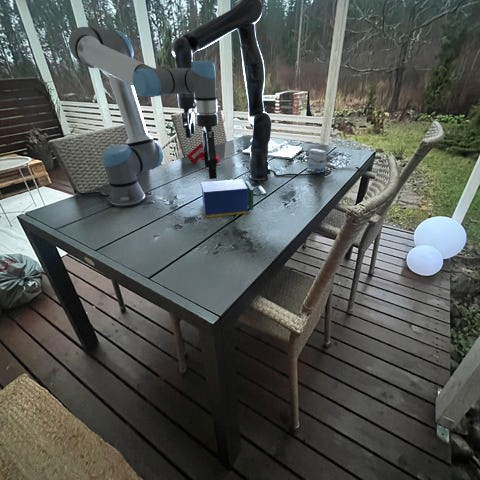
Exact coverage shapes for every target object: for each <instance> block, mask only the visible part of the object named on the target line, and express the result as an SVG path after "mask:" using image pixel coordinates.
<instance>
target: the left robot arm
mask: <svg viewBox="0 0 480 480" xmlns="http://www.w3.org/2000/svg"><path fill="white" fill-rule="evenodd" d="M68 48H69V51H70V53H71V55H72V56H73V57H74V59H75V60H76V61H77V62H79V64H81V65H83V66H85V67H87V68H90V69H97V70H100V71H101V72H102V74H104V75H106V77H107V78H108V81H109V85H110V87H111V89H112V92H113V96H114V98H115V101H116V105H117V108H118V110H119V113H120V116H121V119H122V123H123V125H124V128H125V132H126V134H127V137H128V139H127V140H126V144H119V145H113V146H110V147H108V148H106V149H104V150H103V152H102V153H101V158H102V159H101V160H102V164H103V166H104V169H105V173H106V177H107V180H108V184H109V193H108V194H105V193H104V192H103V191H100V190H94V191H89V192H81V191H80V190H78V189H76V188H75V189H74V190H73V193H77V194H79V195H82V196H87V195H88V196H89V195H93V194H101V196H102V197H106V198H107V197H109V204H110V205H111V206H113V207H115V208H130V207H135V206H137V205H140V204H141V203H143V202H144V201H145V200H146V194H145V192H144V190H143V189H142V187H141V185H140V184H139V181H138V177H137V175H139V174H142V173H144V172H148V171H151V170H154V169H156V168H158V167H160V166H161V165H162V163H163V161H164V151H163V148H162V147H161V145H160V144H159V142H158V141H154V138H153V136H151V135H150V134H149V133H148V129H147V126H146V122H145V119H144V117H143V113H142V108H141V106H140V103H139V100H138V97H137V96H138V95H139V96H140V97H145V98H147V97H148V98H154V97H163V96H170V95H171V96H172V95H177V94H181V93H192V94H194V97H195V102H196V103H194V104H193V106H196V107H195V108H194V109H195V113H196V115H195V123H196V126H197V127H200V128H201V129H202V130H201V135H202V142H203V148H204V160H203V161H204V168H205V169H207V168H208V179H209V180H215V179H216V180H217V178H218V176H217V164H216V161H217V159H216V154H217V151H216V144H215V132H214V130H213V128H214V127H216V126H218V124H219V119H218V118H219V117H218V114H217V113H218V99H217V75H216V66H215V63H214V62H213V61H212V60H192V68H176V67H170V68H169V67H168V68H164V67H161V68H157V67H153V66H150V65H148V64H145V63H143V62H141V61H140V60H137V59H135V58H134V56H135V55H134V54H135V53H134V48H133V45H132V43H131V41H130V40H129V38H128V37H127V35H126V34H125V33H124V32H122V31H120V30H117V29H112V28H101V27H100V28H99V27H90V26H79V27H76V28H74V29H73V30H72V31H71V32H70V34H69V36H68ZM137 94H138V95H137ZM211 157H213V158H211Z"/></svg>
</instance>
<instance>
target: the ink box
mask: <svg viewBox="0 0 480 480" xmlns="http://www.w3.org/2000/svg"><path fill="white" fill-rule="evenodd" d="M327 153H328V151H327V150H323V149H318V148H311V149H310V150H309V151H308V159H307V167H306V171H308V172H311V173H317V172H316V171H322V170H324V171H325V165H326V159H327ZM308 169H311V170H308ZM312 170H315V171H312Z"/></svg>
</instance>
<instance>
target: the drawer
mask: <svg viewBox="0 0 480 480" xmlns="http://www.w3.org/2000/svg"><path fill="white" fill-rule="evenodd" d="M244 183H245V185H246V187H247V188H248V209H249V211H253V210H254V197H259V196H263V197H266V196H267V192H266V191H265V189H264V188H263V187H262V186H261V185H259V186H257V187H253V186H252V185H251V183H250V182H249V180H248V181H244ZM254 190H259V191H260V193H255V192H254Z"/></svg>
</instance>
